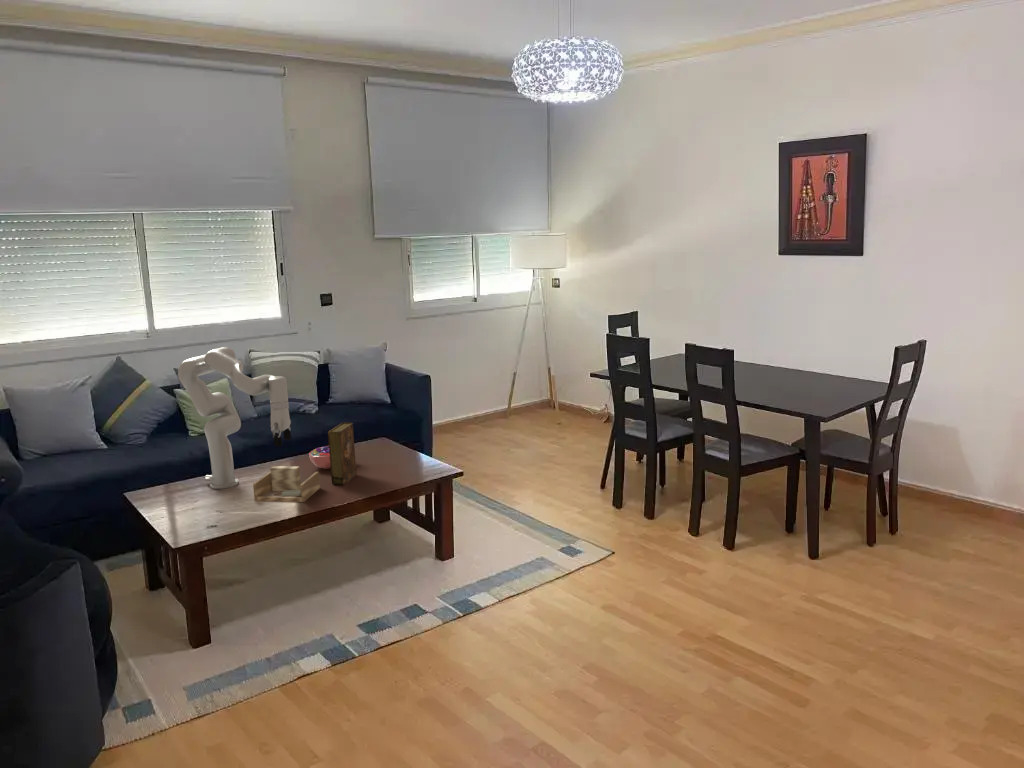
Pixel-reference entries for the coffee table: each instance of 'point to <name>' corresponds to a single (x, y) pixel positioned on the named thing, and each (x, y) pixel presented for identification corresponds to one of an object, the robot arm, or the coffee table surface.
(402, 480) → the coffee table surface
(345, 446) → the book
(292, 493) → the offcut slab top
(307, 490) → the pine rack
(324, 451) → the cell model
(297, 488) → the birch sheet
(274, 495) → the offcut slab bottom
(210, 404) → the robot arm
